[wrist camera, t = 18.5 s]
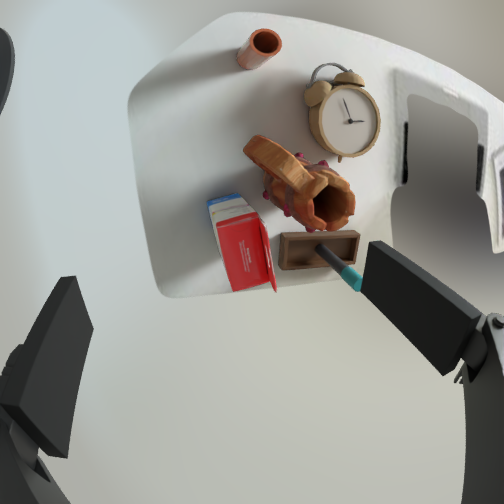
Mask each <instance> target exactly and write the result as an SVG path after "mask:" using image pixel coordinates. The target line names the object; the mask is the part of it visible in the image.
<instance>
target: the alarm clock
mask: <svg viewBox="0 0 504 504" xmlns="http://www.w3.org/2000/svg"><path fill="white" fill-rule="evenodd" d="M326 65H333V66H336V67H338V68H340V69H341V70H342V71H344V72H343V73H339V74H337V75H336V77H335V79H334V81H331V82H330V84H329V83H328V82H326V81H316V82H314V81H315V78H316V75H317V73H318V71H319V70H320V69H321V68H322V67H324V66H326ZM333 83H337V84H341V85H335V86H334V84H333ZM331 84H332V85H333V86H331ZM364 86H365V83H364V80H363V79H362V78H361V77H360V76H359V75H357V74H355V73H354V72H353V71H352V70H351V69H350V70H349V71H348V70H347V69H345V68H344V67H343V66H341V65H339V64H336V63H327V64H323V65H320V66H319V67H317V68H316V69H315V70H314V72H313V74H312V77H311V80H310V83H309V84H307V85H306V87H307V89H306V91H305V93H304V100H305V103H306V104H307V105H308V106H309V107H311V108H310V110H309V124H310V128H311V133H312V134H313V136H314V138H315V140H316V141H317V143H318V144H319V145H320V146H322V147H323V148H324V149H325V150H327V151H329V152H332V153H334V154H338V155H339V156H338V162H339V163H340V162H341V160H342V156H343V157H353V158H354V157H357V156H360V155H363V154H364V153H366V152H367V151H369V150H370V149H371V148H372V146H374V145H375V144H374V143H375V142H376V140H377V138H378V135H379V132H380V123H381V119H380V113H379V109H378V107H377V105H376V102H375V100H374V99H373V98H372V97H371V95H370V94H369V93H368V92H367V91H365V90H364V89H362V88H360V87H364Z"/></svg>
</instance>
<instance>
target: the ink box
mask: <svg viewBox="0 0 504 504" xmlns="http://www.w3.org/2000/svg"><path fill="white" fill-rule="evenodd" d="M207 206H208V210H209V214H210V218H211V222H212V226H213V230H214V234H215V238H216V241H217V245H218V249H219V252H220V255H221V258H222V261H223V264H224V267H225V270H226V272H227V275H228V279H229V281H230V284H231V287H232V290H233V292H235V291H239V290H243V289H247V288H251V287H254V286H257V285H261V284H264V283H267V282H269V281H270V282H271V285H272V287H273V289H274V291H275V292H277V287H276V280H275V274H274V268H273V262H272V256H271V250H270V244H269V238H268V233H267V228H266V225H265V223H264V222H263V221H262V219H261V218H260V216H259V215H258V214H257V212H256V211H255V210H254V209H253V208H252V207H251V206H250V205H249V204H248V203H247V202H246V201H245V200H244V199H243V198H242V197H241V196H240V195H239V194H238V193H236V194H232V195H229V196H225V197H221V198H218V199H214V200H210V201H207Z"/></svg>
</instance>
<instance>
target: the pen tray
mask: <svg viewBox="0 0 504 504" xmlns="http://www.w3.org/2000/svg"><path fill="white" fill-rule="evenodd" d="M359 240H360V234H359V233H358V232H356V231H355V230H345V231H314V232H313V233H309V232H288V233H281V239H280V251H279V264H278V265H279V266H280V268H281V269H282V271H284V270H296V269H307V268H319V267H330V265H329V264H328V263H327V262H326V261H325V260H324V259H323V258H321V257H320V256H319V255H318V254H317V253H316V251H315V248H316V246H317V245H318V244H323V245H325V246H326V247H327V248H328V249H329V250H330V251H332V252H333V253H334V254H335V255H336V256H337V257H339V258H340V259H341V260H342V261H343V262H344V263H346V264H347V265H351V264H355V262H356V256H357V251H358V245H359Z"/></svg>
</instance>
